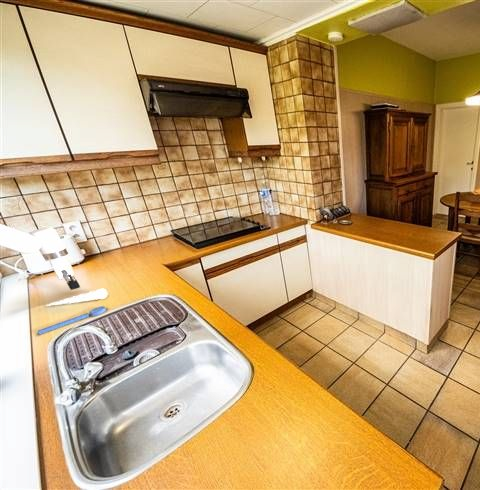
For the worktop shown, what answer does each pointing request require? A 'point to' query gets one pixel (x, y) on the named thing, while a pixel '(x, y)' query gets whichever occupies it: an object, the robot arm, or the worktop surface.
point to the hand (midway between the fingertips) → (75, 288)
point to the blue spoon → (74, 319)
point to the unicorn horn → (82, 297)
